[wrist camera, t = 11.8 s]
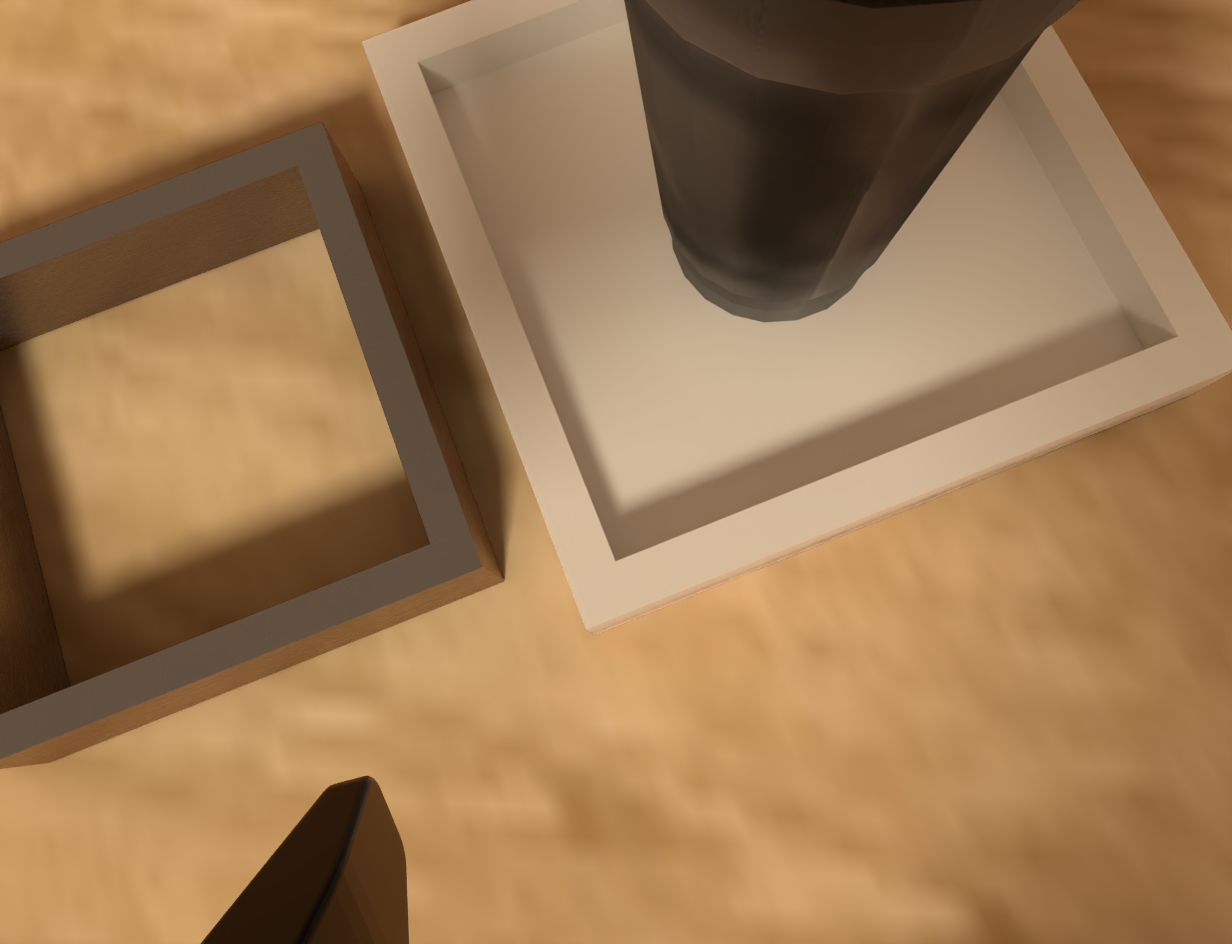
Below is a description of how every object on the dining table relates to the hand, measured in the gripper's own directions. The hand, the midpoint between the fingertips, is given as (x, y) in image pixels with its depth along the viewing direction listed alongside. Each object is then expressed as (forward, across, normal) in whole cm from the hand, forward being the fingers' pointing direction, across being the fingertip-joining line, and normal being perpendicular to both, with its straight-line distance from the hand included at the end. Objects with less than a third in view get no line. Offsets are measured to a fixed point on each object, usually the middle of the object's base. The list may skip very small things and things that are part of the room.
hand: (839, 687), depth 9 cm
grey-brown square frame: (+14, +10, 0) cm, 17 cm away
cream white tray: (+14, -4, -1) cm, 15 cm away
